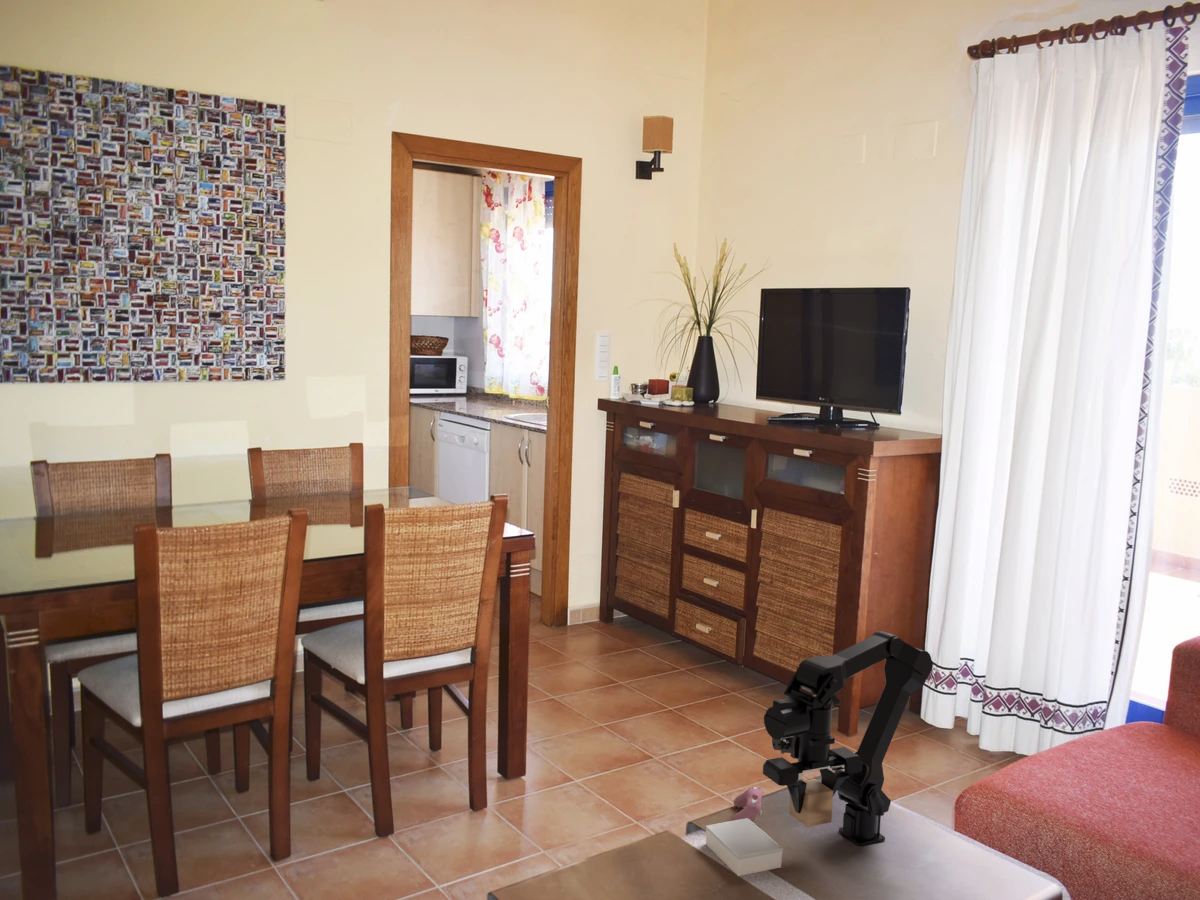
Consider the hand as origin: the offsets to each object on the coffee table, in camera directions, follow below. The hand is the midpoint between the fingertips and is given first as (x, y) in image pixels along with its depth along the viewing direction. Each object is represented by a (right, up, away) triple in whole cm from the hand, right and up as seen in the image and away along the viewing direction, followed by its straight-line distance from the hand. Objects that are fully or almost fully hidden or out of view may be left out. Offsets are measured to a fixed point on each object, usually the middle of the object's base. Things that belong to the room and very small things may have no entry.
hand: (810, 809), depth 179 cm
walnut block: (0, -2, 0) cm, 2 cm away
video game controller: (-10, -7, +15) cm, 19 cm away
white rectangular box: (-13, -9, 0) cm, 15 cm away
